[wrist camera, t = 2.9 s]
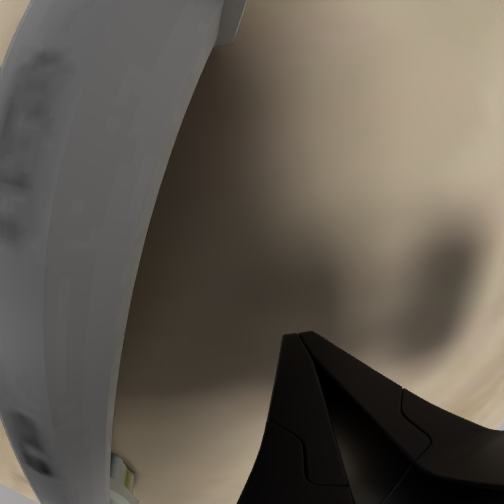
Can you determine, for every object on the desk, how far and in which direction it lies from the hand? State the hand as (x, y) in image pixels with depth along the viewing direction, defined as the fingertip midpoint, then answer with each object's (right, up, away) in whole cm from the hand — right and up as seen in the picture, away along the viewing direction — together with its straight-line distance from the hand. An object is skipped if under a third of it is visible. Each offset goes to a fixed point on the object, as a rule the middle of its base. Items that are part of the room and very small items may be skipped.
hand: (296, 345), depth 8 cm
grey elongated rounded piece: (-7, 0, +1) cm, 7 cm away
